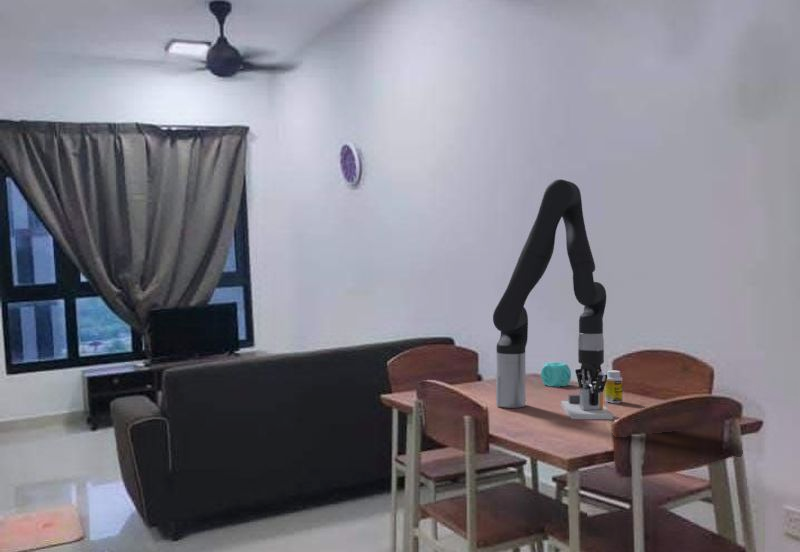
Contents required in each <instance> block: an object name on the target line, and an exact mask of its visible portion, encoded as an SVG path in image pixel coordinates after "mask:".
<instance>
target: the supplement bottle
mask: <svg viewBox="0 0 800 552" xmlns="http://www.w3.org/2000/svg"><path fill="white" fill-rule="evenodd" d="M606 373H607V374H606V375H607V376H608V377H607V381H606V384H605V387H604V401H605V402H606V403H608V402H610V403H609V404H621V403H622V402H623V377H622V376H621V371H620V370H614V369H613V370H607V372H606ZM620 402H621V403H620Z"/></svg>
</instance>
